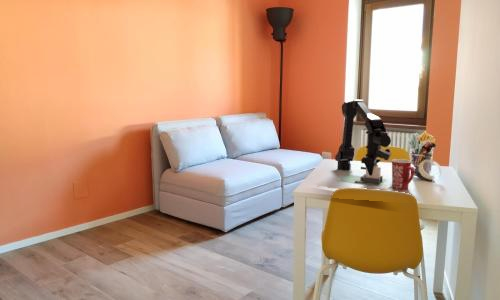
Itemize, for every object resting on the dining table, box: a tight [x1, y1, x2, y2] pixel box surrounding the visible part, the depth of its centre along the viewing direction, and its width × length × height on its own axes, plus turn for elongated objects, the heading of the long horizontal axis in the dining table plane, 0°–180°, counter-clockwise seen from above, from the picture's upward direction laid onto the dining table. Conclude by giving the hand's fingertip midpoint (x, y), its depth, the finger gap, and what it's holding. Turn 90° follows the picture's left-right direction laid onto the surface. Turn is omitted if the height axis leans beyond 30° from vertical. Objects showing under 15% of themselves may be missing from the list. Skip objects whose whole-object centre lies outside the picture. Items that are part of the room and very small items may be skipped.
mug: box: [391, 158, 415, 191], centre depth 195 cm, size 13×9×14 cm
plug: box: [360, 164, 382, 179], centre depth 204 cm, size 10×4×7 cm, turn 59°
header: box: [360, 173, 384, 184], centre depth 204 cm, size 9×8×2 cm
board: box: [337, 174, 388, 188], centre depth 206 cm, size 21×16×2 cm
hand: (371, 174), depth 203 cm, fingers closed on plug, 3 cm apart
